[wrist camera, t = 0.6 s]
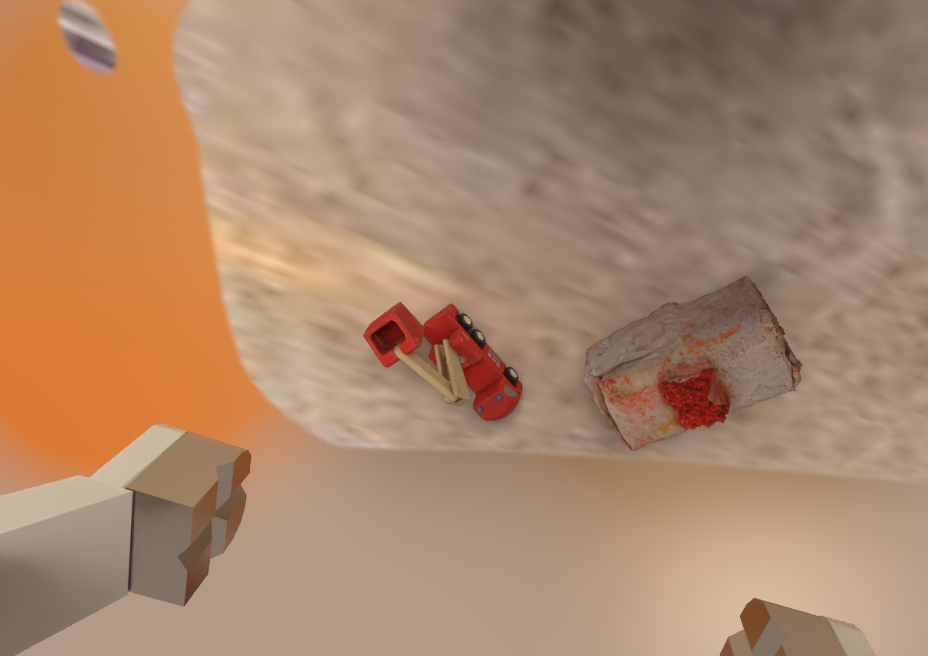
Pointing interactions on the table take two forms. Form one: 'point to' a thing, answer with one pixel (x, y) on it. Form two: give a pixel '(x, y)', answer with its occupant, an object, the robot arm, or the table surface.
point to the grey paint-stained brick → (690, 365)
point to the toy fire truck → (448, 358)
